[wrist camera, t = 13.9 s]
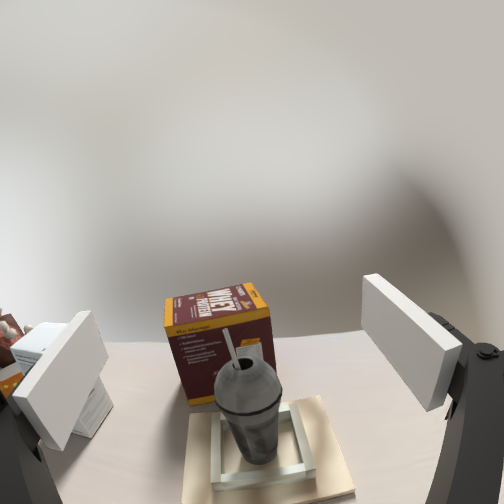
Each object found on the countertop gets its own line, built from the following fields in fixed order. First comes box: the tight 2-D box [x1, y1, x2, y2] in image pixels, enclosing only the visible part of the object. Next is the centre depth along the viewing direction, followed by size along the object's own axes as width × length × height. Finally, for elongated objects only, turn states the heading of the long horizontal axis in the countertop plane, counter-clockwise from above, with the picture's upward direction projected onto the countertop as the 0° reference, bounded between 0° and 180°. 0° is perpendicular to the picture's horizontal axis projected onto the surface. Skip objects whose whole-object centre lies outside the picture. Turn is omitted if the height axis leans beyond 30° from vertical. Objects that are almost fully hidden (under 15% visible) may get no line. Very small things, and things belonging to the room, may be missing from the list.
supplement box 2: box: [164, 283, 277, 406], centre depth 48 cm, size 10×15×16 cm
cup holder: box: [181, 396, 356, 504], centre depth 33 cm, size 20×18×4 cm
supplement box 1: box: [10, 322, 113, 438], centre depth 38 cm, size 10×9×17 cm
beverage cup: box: [214, 328, 282, 465], centre depth 30 cm, size 7×7×20 cm
